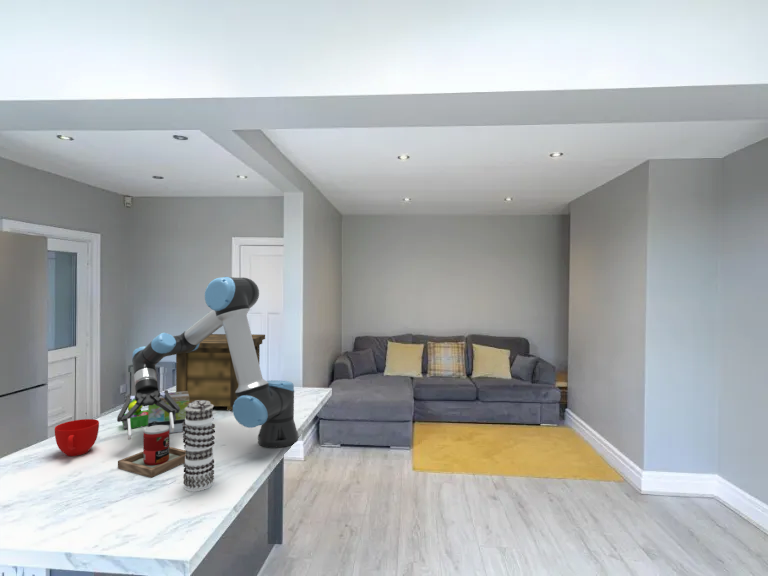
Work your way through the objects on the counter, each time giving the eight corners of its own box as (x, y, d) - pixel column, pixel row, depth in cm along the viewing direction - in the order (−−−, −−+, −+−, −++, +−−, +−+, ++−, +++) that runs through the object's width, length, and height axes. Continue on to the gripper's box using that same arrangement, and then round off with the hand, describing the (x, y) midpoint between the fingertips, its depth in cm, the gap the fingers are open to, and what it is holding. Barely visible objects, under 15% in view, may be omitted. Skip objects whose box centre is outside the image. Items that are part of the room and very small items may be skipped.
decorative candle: (179, 482, 134) (179, 400, 133) (211, 475, 139) (211, 396, 139) (185, 494, 126) (185, 408, 126) (218, 486, 131) (219, 403, 131)
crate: (200, 393, 240) (201, 333, 239) (264, 394, 239) (265, 334, 239) (168, 412, 205) (168, 342, 204) (243, 413, 204) (243, 343, 204)
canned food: (158, 466, 143) (158, 433, 143) (137, 464, 145) (137, 431, 145) (174, 457, 151) (174, 425, 150) (154, 455, 152) (154, 423, 152)
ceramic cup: (46, 466, 144) (46, 436, 144) (60, 448, 160) (60, 421, 160) (92, 460, 149) (92, 431, 149) (102, 443, 165) (102, 417, 165)
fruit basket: (123, 431, 179) (123, 403, 179) (118, 425, 186) (118, 399, 185) (153, 425, 186) (154, 399, 186) (148, 420, 193) (148, 394, 193)
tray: (193, 459, 151) (193, 452, 151) (151, 477, 137) (151, 470, 137) (160, 451, 158) (160, 444, 158) (117, 468, 144) (117, 460, 144)
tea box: (147, 437, 173) (147, 399, 173) (148, 429, 182) (148, 393, 182) (189, 431, 180) (189, 395, 180) (187, 424, 189) (187, 389, 188)
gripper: (180, 384, 178) (187, 432, 166) (107, 393, 163) (110, 445, 151) (182, 373, 173) (191, 421, 161) (108, 381, 159) (111, 435, 147)
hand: (151, 433), depth 156 cm, fingers open, 13 cm apart
